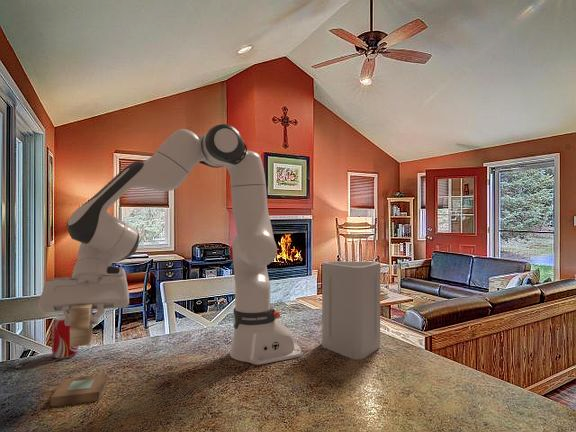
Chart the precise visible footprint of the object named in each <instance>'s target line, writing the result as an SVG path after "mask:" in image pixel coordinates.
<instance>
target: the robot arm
mask: <svg viewBox="0 0 576 432" xmlns="http://www.w3.org/2000/svg"><path fill="white" fill-rule="evenodd" d="M198 163H199V164H201V165H204V166H206V167H207V166H208V167H211V168H217V169H219V168H223V167H225V169H226V170H227V171H228V173H229V177H230V192H231V193H230V195H231V207H232V214H233V218H234V224H235V227H236V235H235V237H234V238H233V239H232V240H233V241H232V243H231V248H232V263H233V266H232V267H233V274H234V277H233V278H234V308H233V315H232V326H233V328H234V329H233V337H232V343H231V347H230V351H229V356H230V358H232V359H234V360H235V361H239V362H243V363H250V364H252V365H254V366H260V365H265V364H269V363H274V362H281V361H285V360H290V359H295V358H299V357H301V355H302V348H301V347H300V346H299V344H297V342H295V340H294V336H293V333H292V331H291V330H290V329H289V328H288V327H287V326H286V325H284V324H283V323H281V322H280V321H279V320H277V319H279V318H280V317H281V313H280V312H279V311H278V310H276V309H274V308H273V307H271V282H270V279H269V273H268V267H267V266H268V265H270V264H271V263H272V262H273V261H274V260H275V259H276V257H277V254H278V246H277V244H276V241H275V238H274V237H275V236H274V232H273V231H274V230H273V227H272V223H271V219H270V214H269V208H268V195H267V182H266V175H265V168H264V164H263V160H262V157H261V156H260V154H259V153H257V152H255V151H252V150H248V146H247V144H246V143H245V142H244V139H243V138H242V136H241V133H240V132H239V131H238V130H237V128H235V127H234V126H232V125H230V124H226V123H223V124H222V123H221V124H217V125H214V126H212V127H211V128H210V129H209V130H208V131H207V132H206V133H205V134H203V135H198V134H196V133H195V132H194V131H191V130H190V129H186V128H181V129H179V128H178V129H177V130H176V131H174V132H173V133H172V134H171V135H169V137H168V138H167V139H166V140H165V141H163V142H162V144H161V145H160V146H159V147H158V149H157V150H156V152H154V154H153V155H152V156H151V157H149V158H147V159H145V160H143V161H140V160H139V161H138V160H137V161H134V162H131V163H130V164H128V165H127V166H126V167H124V168H123V169H121V171H119V172H118V174H116V175H115V176H114V177H113V178H112V179H111V180H110V181H109V182H107V184H105V185H104V186H103V187H102V188H101V189H100V190H99V191H97V193H95V194H94V195H93V196H92V197H91V198H90V199H89V200H87V201H86V202H85V203H83V204H81V205H80V206H79V207H77V209H76V210H74V211H73V213H72V214H71V215H70V216H69V218H68V220H67V222H66V228H67V232H68V234H69V236H70V239H72V240H74V241H76V242H79V243H80V245H79V248H78V252H77V260H76V262H75V263H74V266H73V271H72V274H71V276H69V277H67V276H66V277H53V278H52V279H49V280H47V281H46V282H44V285H43V288H42V292H41V294H40V297H39V299H38V302H37V303H38V304H37V305H38V307H39V309H40V310H41V311H42V312H43V313H57V312H60V313H61V312H62V314H63V315H64V316H65V321H64V324H65V326H70V316H69V314H70V308H71V307H73V306H74V305H82V304H93V311H94V310H96V312H95V313H93V315H91V316H90V324H93V325H98V322H99V321H98V320H99V318H100V317H102V315H103V314H104V313H105V310H106V309H107V310H108V309H109V310H110V309H125V308H126V307H127V306H128V305H130V291H129V286H128V285H129V284H128V281H127V280H128V279H127V273H126V271H125V269H124V268H123V267H119V266H115V265H112V264H113V263H114V264H116V263H119V262H122V261H124V260H127V259H129V258H131V257H132V256H133V255H134V254H135V253H136V251H137V250H138V247H139V244H140V233H139V231H138V230H137V229H136V228H135V227H133V226H131V225H130V224H129V223H127V222H125V221H122V220H121V219H119V218H118V217H115V216H114V215H112V214H111V213H109V212H108V210H109V208H111V207H112V206H113V205H114V204H115V203H116V202H117V201H118V200H120V199H121V197H123V195H125V193H126V192H128V191H129V190H131V189H133V188H138V187H139V188H145V189H150V190H154V191H158V192H170V191H174V190H176V189H178V188H179V187H180V186H181V185H182V184H183V183H184V182H185V180H186V179H187V177H188V176H189V175H190V173H191V172H192V170H193V169H194V168H195V166H197V164H198Z"/></svg>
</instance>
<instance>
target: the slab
mask: <svg viewBox="0 0 576 432" xmlns="http://www.w3.org/2000/svg"><path fill="white" fill-rule="evenodd" d="M108 383H109V374H108V373H106V374H95V375H86V376H77V377H69V378H68V377H67V378H63V380H62V381H61V382H60V384H59V385H58V387H57V388H56V389H55V391H54V392H53V393H52V395H51V397H50V407H56V406H65V405H72V404H81V403H89V402H99V401H100V400H101V397H102V396H103V393H104V391H105V389H106V387H107V384H108Z"/></svg>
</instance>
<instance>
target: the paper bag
mask: <svg viewBox="0 0 576 432" xmlns="http://www.w3.org/2000/svg"><path fill="white" fill-rule="evenodd" d="M321 266H322V267H321V268H322V269H321V270H322V271H321V272H322V275H321V277H322V278H321V286H322V287H321V316H322V317H321V345H322V348H325V349H326V348H327V349H326V350H329V351H331V350H332V352H333V351H334V353H336V354H338V353H339V355H341V356H343V357H346V358H348V357H349V359H351V360H364V359H365V358H367V357H368V356H371V354H373V353H375V352H377V350H379V349H380V348H381V262H379V261H354V260H353V261H340V260H339V261H338V260H337V261H336V260H335V261H333V260H331V261H327V260H326V261H324V260H322V265H321ZM378 348H379V349H378Z"/></svg>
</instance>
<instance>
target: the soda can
mask: <svg viewBox="0 0 576 432" xmlns="http://www.w3.org/2000/svg"><path fill="white" fill-rule="evenodd" d="M68 315H69V316H70V314H68ZM64 321H65V316H64V314H62V315H58V316H56V317H55V318H54V321H53V323H52V326H51V328H52V329H51V353H52V355H51V356H53V358H56V359H61V360H63V359H68V358H69V359H70V358H72V357H73V356H75V355H76V354H77V353H78V352H79V346H70V326H65V324H64Z"/></svg>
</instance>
